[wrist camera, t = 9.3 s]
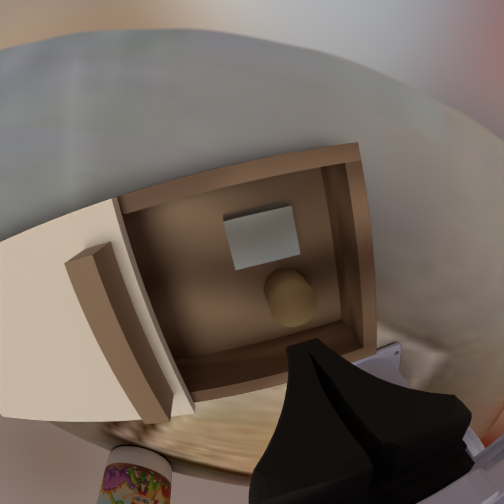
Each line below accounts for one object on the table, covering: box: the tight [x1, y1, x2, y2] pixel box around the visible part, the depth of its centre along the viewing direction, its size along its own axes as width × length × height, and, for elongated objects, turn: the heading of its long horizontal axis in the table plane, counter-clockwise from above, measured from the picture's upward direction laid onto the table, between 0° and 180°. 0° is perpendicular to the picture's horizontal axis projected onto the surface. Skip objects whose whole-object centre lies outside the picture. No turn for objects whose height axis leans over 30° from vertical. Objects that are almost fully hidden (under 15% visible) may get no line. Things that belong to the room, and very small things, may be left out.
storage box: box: [117, 142, 377, 402], centre depth 19 cm, size 14×20×5 cm
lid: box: [0, 197, 195, 424], centre depth 14 cm, size 14×20×3 cm
